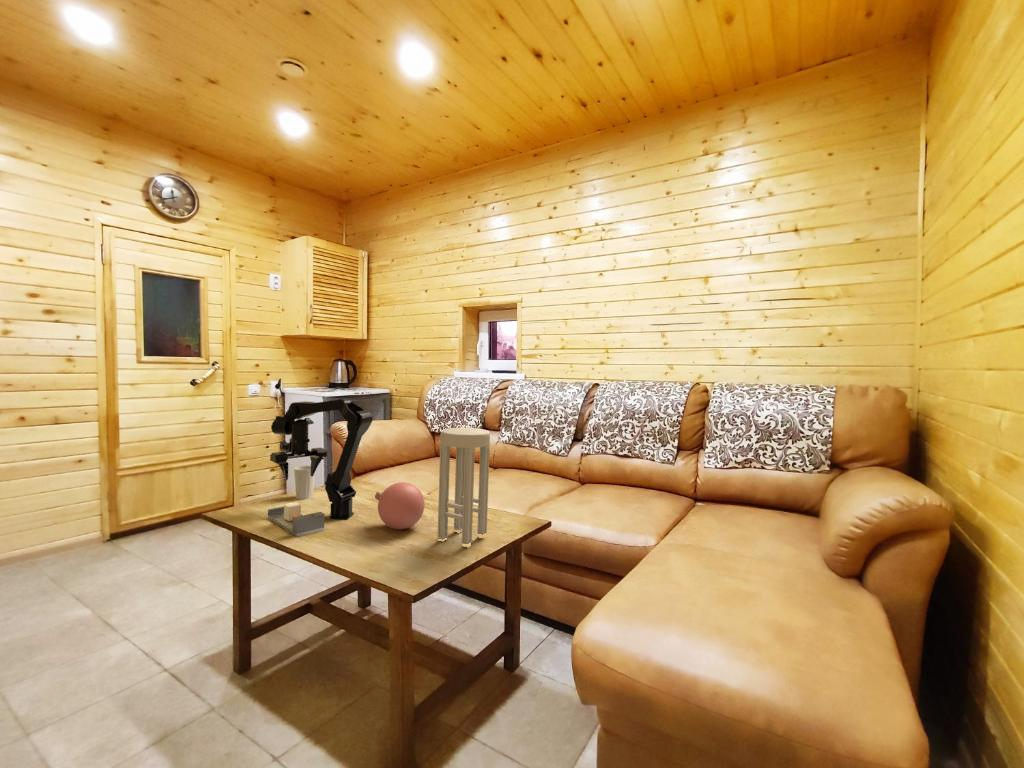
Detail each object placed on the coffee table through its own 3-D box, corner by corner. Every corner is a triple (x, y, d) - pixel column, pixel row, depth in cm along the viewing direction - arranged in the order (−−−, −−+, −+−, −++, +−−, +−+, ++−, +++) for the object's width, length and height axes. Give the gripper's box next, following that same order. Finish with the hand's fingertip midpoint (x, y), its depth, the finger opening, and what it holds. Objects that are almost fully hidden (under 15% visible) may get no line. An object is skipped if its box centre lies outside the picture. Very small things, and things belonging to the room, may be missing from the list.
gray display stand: (267, 518, 167) (268, 502, 166) (294, 512, 173) (294, 497, 173) (296, 537, 150) (296, 519, 150) (324, 530, 157) (324, 513, 156)
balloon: (394, 514, 175) (395, 473, 174) (433, 527, 163) (434, 482, 162) (359, 525, 162) (359, 481, 161) (398, 540, 150) (399, 492, 150)
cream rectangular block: (283, 518, 163) (284, 504, 163) (295, 515, 166) (295, 502, 166) (294, 525, 157) (294, 510, 157) (306, 522, 160) (307, 508, 160)
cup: (309, 500, 188) (310, 470, 188) (289, 499, 188) (290, 469, 188) (318, 494, 196) (318, 466, 196) (299, 494, 196) (299, 465, 196)
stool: (456, 527, 164) (459, 426, 162) (495, 536, 156) (498, 430, 155) (428, 541, 150) (431, 431, 148) (469, 552, 143) (473, 436, 141)
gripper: (315, 431, 187) (314, 470, 188) (264, 435, 173) (264, 477, 174) (328, 434, 179) (327, 475, 180) (276, 439, 166) (276, 484, 166)
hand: (299, 478), depth 175 cm, fingers open, 9 cm apart
